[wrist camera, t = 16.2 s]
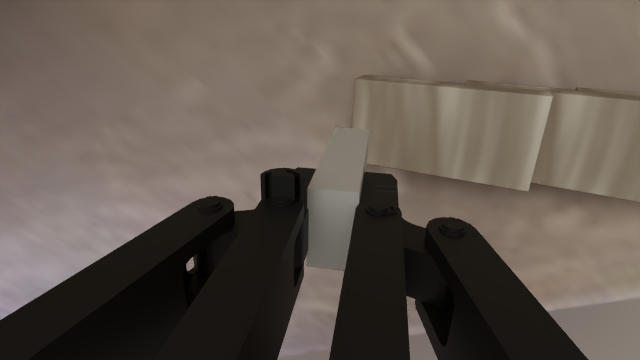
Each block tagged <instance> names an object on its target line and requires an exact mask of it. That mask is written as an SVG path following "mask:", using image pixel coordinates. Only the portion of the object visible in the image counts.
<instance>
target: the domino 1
mask: <svg viewBox="0 0 640 360" xmlns="http://www.w3.org/2000/svg"><path fill="white" fill-rule="evenodd" d="M552 98H553V96H552V94H551V92H550V91H542V90H531V89H519V88H507V87H496V86H484V85H472V84H461V83H449V82H437V81H426V80H414V79H402V78H391V77H379V76H367V75H363V76H361V77H358V78H356V79H355V89H354V107H353V125H352V128H358V129H370V132H369V145H368V158H367V163H368V164H373V165H379V166H385V167H391V168H396V169H402V170H408V171H413V172H419V173H425V174H431V175H436V176H442V177H448V178H453V179H459V180H465V181H471V182H476V183H482V184H488V185H494V186H499V187H505V188H511V189H516V190H522V191H529V187H530V183H531V179H532V175H533V172H534V168H535V164H536V160H537V156H538V152H539V148H540V145H541V141H542V137H543V133H544V129H545V125H546V122H547V118H548V114H549V110H550V106H551V102H552Z"/></svg>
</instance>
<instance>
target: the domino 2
mask: <svg viewBox="0 0 640 360" xmlns="http://www.w3.org/2000/svg"><path fill="white" fill-rule="evenodd" d="M466 84H472V85H484V86H496V87H507V88H519V89H531V90H542V91H550V92H551V94H552V96H553V98H552V102H551V106H550V110H549V114H548V118H547V122H546V125H545V129H544V133H543V137H542V141H541V145H540V148H539V152H538V156H537V160H536V164H535V168H534V172H533V175H532V179H531V183H537V184H542V185H548V186H553V187H559V188H565V189H570V190H576V191H582V192H587V193H593V194H599V195H604V196H610V197H615V198H621V199H627V200H632V201H638V202H640V96H633V95H623V94H612V93H601V92H590V91H579V90H568V89H558V88H547V87H536V86H525V85H514V84H503V83H493V82H482V81H471V80H468V82H467V83H466Z"/></svg>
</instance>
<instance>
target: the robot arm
mask: <svg viewBox="0 0 640 360" xmlns="http://www.w3.org/2000/svg"><path fill="white" fill-rule="evenodd" d="M369 132H370V129H358V128H343V127H336V128H335V130H334V132H333V134H332V136H331V138H330V141H329V143H328V145H327V147H326V149H325V151H324V153H323V156H322V158H321V160H320V162H319V164H318V166H317V169H311V168H299V167H298V168H296V169H290V168H276V169H270V170H267V171H265V172H263V173H262V174H260V175H261V199H262V200H261V201H260V203H259V204H258V206H257V207H256V209H254V210H245V211H234V203H233V202H232V201H231V200H229V199H227V198H224V197H218V196H213V197H212V196H209V197H206V198H202V199H199V200H196V201H194V202H192V203H190V204H189V205H187V206H186V207H184V208H182V209H181V210H179V211H177V212H176V213H174V214H173V215H171V216H169V217H168V218H166V219H164V220H163V221H161V222H160V223H158V224H156V225H155V226H153V227H151V228H150V229H148V230H147V231H145V232H143V233H142V234H140V235H138V236H137V237H135V238H133V239H132V240H130V241H129V242H127V243H125V244H124V245H122V246H120V247H119V248H117V249H116V250H114V251H112V252H111V253H109V254H107V255H106V256H104V257H103V258H101V259H99V260H98V261H96V262H94V263H93V264H91V265H90V266H88V267H86V268H85V269H83V270H81V271H80V272H78V273H76V274H75V275H73V276H72V277H70V278H68V279H67V280H65V281H63V282H62V283H60V284H59V285H57V286H55V287H54V288H52V289H50V290H49V291H47V292H46V293H44V294H42V295H41V296H39V297H37V298H36V299H34V300H33V301H31V302H29V303H28V304H26V305H24V306H23V307H21V308H19V309H18V310H16V311H15V312H13V313H11V314H10V315H8V316H6V317H5V318H3V319H2V320H0V360H277V358H278V355H279V352H280V349H281V346H282V342H283V339H284V336H285V333H286V330H287V327H288V324H289V320H290V317H291V314H292V311H293V308H294V305H295V302H296V298H297V295H298V292H299V289H300V286H301V283H302V280H303V276H304V260H305V257H306V254H307V266H309V267H318V268H326V269H334V270H343V271H345V272H344V278H343V284H342V289H341V295H340V301H339V306H338V312H337V318H336V324H335V329H334V335H333V341H332V346H331V352H330V358H329V360H410V352H409V335H408V317H407V300H406V296H408V297H411V298H414V299H415V305H416V309H417V312H418V314H419V316H420V319H421V321H422V323H423V326H424V328H425V330H426V333H427V335H428V337H429V340H430V342H431V344H432V347H433V349H434V351H435V354H436V356H437V358H438V360H588V359H587V358H586V356H584V354H583V353H582V352H581V351H580V349H579V348H578V347H577V346H576V345H575V344H574V342H573V341H572V340H571V339H570V338H569V337H568V335H567V334H566V333H565V332H564V331H563V330H562V329H561V327H560V326H559V325H558V324H557V323H556V321H555V320H554V319H553V318H552V317H551V316H550V314H549V313H548V312H547V311H546V310H545V309H544V307H543V306H542V305H541V304H540V303H539V302H538V301H537V299H536V298H535V297H534V296H533V295H532V294H531V292H530V291H529V290H528V289H527V288H526V287H525V285H524V284H523V283H522V282H521V281H520V280H519V278H518V277H517V276H516V275H515V274H514V273H513V271H512V270H511V269H510V268H509V267H508V266H507V264H506V263H505V262H504V261H503V260H502V259H501V257H500V256H499V255H498V254H497V253H496V252H495V250H494V249H493V248H492V247H491V246H490V245H489V243H488V242H487V241H486V240H485V239H484V238H483V236H482V235H481V234H480V233H479V232H478V231H477V229H476V228H474V227H473V226H472V225H471V224H469V223H466V222H464V221H462V220H460V219H456V218H452V217H449V218H445V217H442V218H435V219H433V220H431V221H429V222H428V224H427V227H426V228H423V227H420V226H416V225H414V224H411V223H409V222H407V221H406V220H404V219H403V218H402V213H401V211H400V208H398V188H397V179H396V178H395V177H394V176H393V175H392V174H384V173H371V172H366V171H367V158H368V145H369ZM192 257H193V260H194V267H193V268H192V269H191V270H190V271H187V269H186V263H187V262H188V261H189V260H190V259H191V258H192Z"/></svg>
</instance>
